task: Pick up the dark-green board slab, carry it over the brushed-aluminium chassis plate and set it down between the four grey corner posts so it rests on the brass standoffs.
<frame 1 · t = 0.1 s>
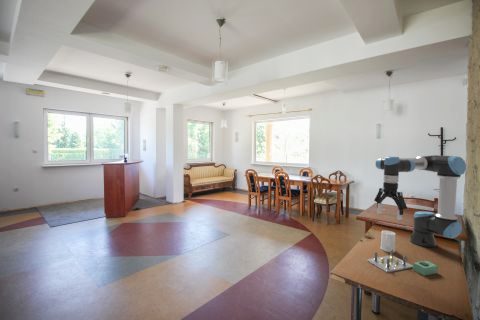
hand: (389, 216, 143), 28 cm above the table, fingers open, 13 cm apart
chassis: (389, 264, 141), on the table
board: (424, 271, 133), on the table
mug: (386, 250, 160), on the table
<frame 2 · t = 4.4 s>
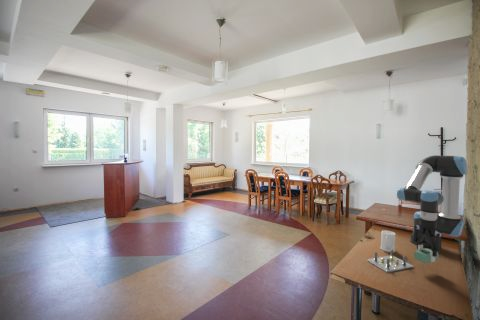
hand: (426, 258, 133), 7 cm above the table, fingers closed on board, 6 cm apart
board: (426, 259, 133), point 7 cm above the table, touching gripper
everything else where it was.
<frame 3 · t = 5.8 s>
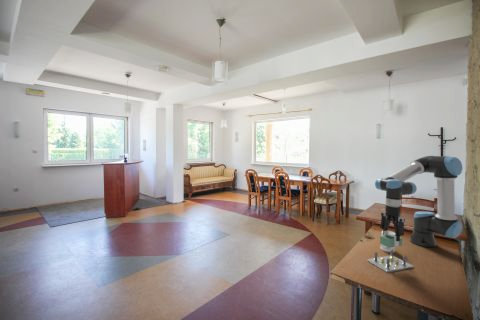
hand: (390, 243, 140), 13 cm above the table, fingers closed on board, 6 cm apart
board: (390, 244, 140), point 12 cm above the table, touching gripper
everything else where it was.
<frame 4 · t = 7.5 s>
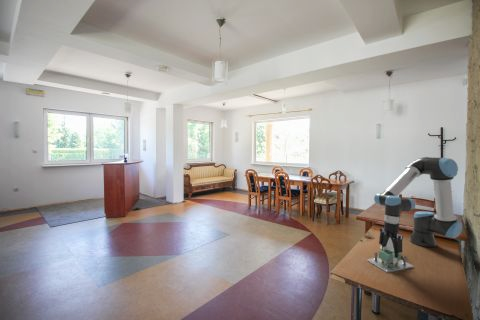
hand: (389, 259, 141), 3 cm above the table, fingers closed on board, 6 cm apart
board: (389, 259, 141), point 3 cm above the table, touching chassis, gripper
everything else where it was.
when the fingers open (3 cm above the table, at t = 7.6 s): board stays where it is, resting on chassis.
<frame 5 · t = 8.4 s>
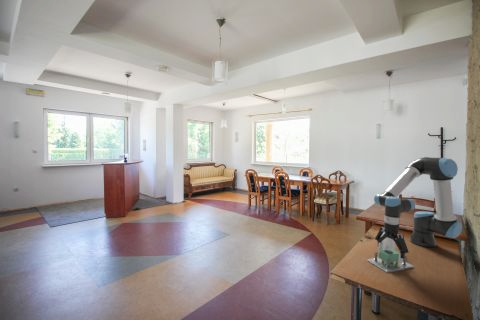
hand: (390, 257, 141), 4 cm above the table, fingers open, 13 cm apart
board: (389, 259, 141), point 3 cm above the table, touching chassis
everything else where it was.
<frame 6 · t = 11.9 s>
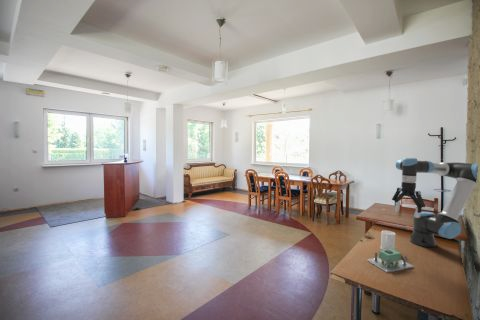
hand: (406, 214, 152), 27 cm above the table, fingers open, 13 cm apart
nothing on the table moved.
at the end: board 0.2 cm off-centre on the chassis, point 3.0 cm above the chassis's base; board tilted 0°; the gripper is holding nothing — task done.
